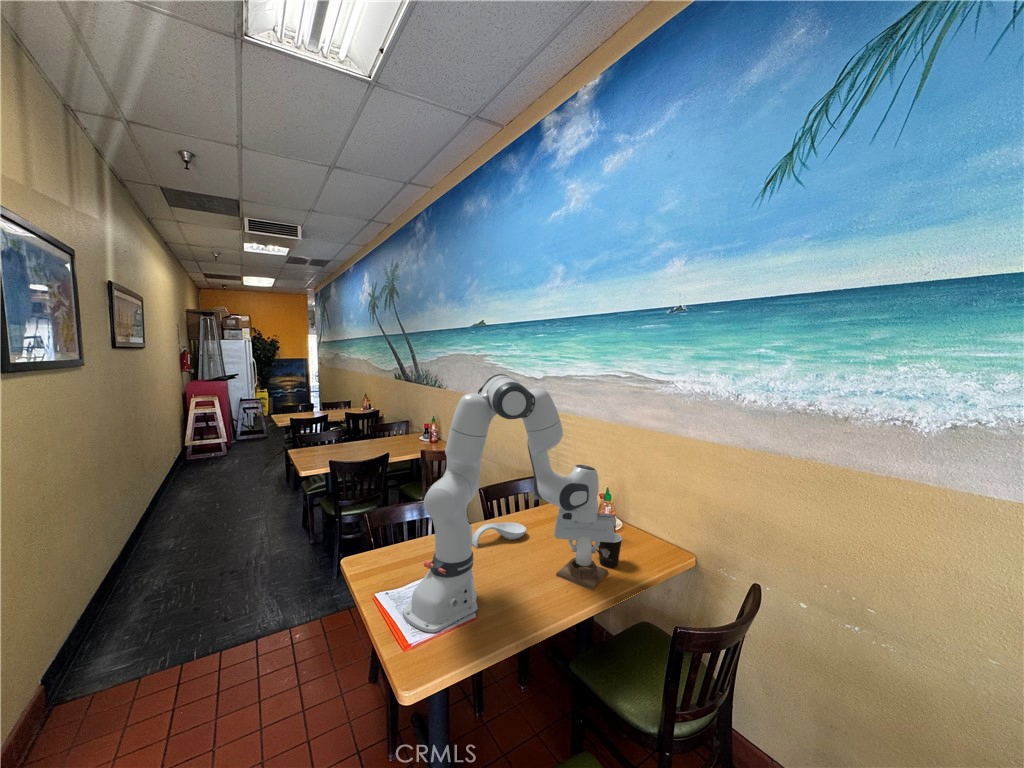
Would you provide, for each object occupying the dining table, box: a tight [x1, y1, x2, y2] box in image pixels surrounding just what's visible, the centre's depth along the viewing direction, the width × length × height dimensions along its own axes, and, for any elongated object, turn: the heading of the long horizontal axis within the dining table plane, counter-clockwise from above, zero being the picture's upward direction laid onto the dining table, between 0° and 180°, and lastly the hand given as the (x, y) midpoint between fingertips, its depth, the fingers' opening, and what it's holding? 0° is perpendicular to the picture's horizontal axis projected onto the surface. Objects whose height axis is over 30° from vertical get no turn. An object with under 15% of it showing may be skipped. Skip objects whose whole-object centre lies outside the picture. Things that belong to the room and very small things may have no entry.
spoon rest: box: [472, 522, 527, 549], centre depth 157 cm, size 24×12×7 cm, turn 122°
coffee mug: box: [592, 532, 623, 569], centre depth 140 cm, size 12×9×10 cm
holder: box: [555, 557, 609, 591], centre depth 132 cm, size 13×13×4 cm
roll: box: [575, 535, 593, 566], centre depth 131 cm, size 5×5×10 cm
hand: (583, 551), depth 131 cm, fingers closed on roll, 5 cm apart
